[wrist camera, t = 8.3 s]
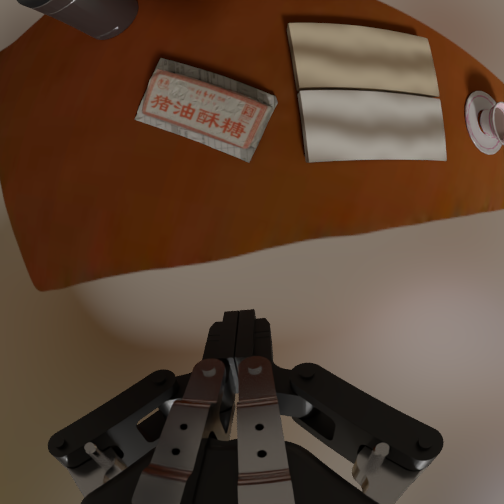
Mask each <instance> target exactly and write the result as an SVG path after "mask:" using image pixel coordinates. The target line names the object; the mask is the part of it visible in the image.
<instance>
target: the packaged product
mask: <svg viewBox="0 0 504 504" xmlns="http://www.w3.org/2000/svg"><path fill="white" fill-rule="evenodd" d="M277 103H278V102H277V99H276V96H273V95H271V94H268V93H266V92H264V91H261V90H259V89H256V88H253V87H251V86H248V85H246V84H243V83H240V82H238V81H235V80H232V79H230V78H227V77H224V76H221V75H218V74H215V73H212V72H209V71H205V70H202V69H199V68H196V67H192V66H189V65H186V64H182V63H178V62H174V61H170V60H166V59H163V58H160V60H159V62H158V64H157V66H156V69H155V71H154V73H153V75H152V77H151V78H150V80H149V84H148V88H147V90H146V92H145V94H144V97H143V99H142V101H141V104H140V106H139V109H138V111H137V115H136V118H135V120H138V121H141V122H144V123H146V124H149V125H152V126H155V127H158V128H161V129H164V130H167V131H170V132H173V133H175V134H178V135H181V136H184V137H186V138H189V139H192V140H195V141H198V142H201V143H203V144H205V145H208V146H210V147H212V148H215V149H217V150H220V151H222V152H225V153H228V154H230V155H232V156H235V157H238V158H240V159H242V160H244V161H246V162H250V160H251V158H252V156H253V153H254V151H255V149H256V147H257V145H258V143H259V141H260V139H261V137H262V135H263V132H264V130H265V128H266V126H267V123H268V121H269V119H270V117H271V115H272V113H273V111H274V109H275V107H276V105H277Z"/></svg>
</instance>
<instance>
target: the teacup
mask: <svg viewBox="0 0 504 504" xmlns="http://www.w3.org/2000/svg"><path fill="white" fill-rule="evenodd" d="M481 110H483V111H482V113H481V117H480V125H481V128H482V129H483V131H484V133H485V134H486V135H485V134H483V133H482V131H481V130H480V128H479V125H478V121H477V116H478V113H479V111H481ZM465 120H466V125H467V130H468V132H469V135H470V137H471V139H472V141H473V143H474V144H475V146H476V147H477V148H478V149H479V150H480V151H481V152H483V153H486V154H495V153H496V152H497V151H498V150H499V149H500V147H501V145H502V144H503V145H504V102H498V103H496V102H495V101H494V99H493V98H492V97H491V96H490V95H489V94H487V93H485V92H483V91H475V92H473V93H471V94H470V96H469V97H468V99H467V101H466V106H465Z"/></svg>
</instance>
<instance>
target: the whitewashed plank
mask: <svg viewBox="0 0 504 504" xmlns="http://www.w3.org/2000/svg"><path fill="white" fill-rule="evenodd" d="M298 102H299V109H300V116H301V124H302V132H303V140H304V148H305V158H306V162H323V161H342V160H377V159H408V160H441V161H447V158H446V144H445V133H444V124H443V117H442V110H441V103H440V99H435V98H428V97H422V96H415V95H407V94H398V93H387V92H375V91H355V90H306V91H300V92H299V93H298Z"/></svg>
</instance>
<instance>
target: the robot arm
mask: <svg viewBox="0 0 504 504" xmlns="http://www.w3.org/2000/svg"><path fill="white" fill-rule="evenodd" d="M17 1H18V2H19V3H20V4H22V5H24V6H26V7H29V8H32V9H34V10H37V11H39V12H41V13H44V14H46V15H49V16H51V17H53V18H55V19H57V20H60V21H62V22H64V23H66V24H68V25H70V26H72V27H74V28H76V29H78V30H80V31H82V32H84V33H86V34H88V35H90V36H92V37H94V38H96V39H99V40H105V39H109V38H112V37H114V36H116V35H118V34H120V33H121V32H123V31H124V30H125V29H126V28H127V27H128V26H129V25H130V24H131V23H132V21H133V20H134V18H135V17H136V14H137V11H138V3H137V1H136V0H17ZM235 393H239V402H238V403H237V437H238V439H234V440H230V433H231V428H232V423H233V417H234V412H235V402H234V401H235ZM157 407H158V408H159V411H157V412H155V413H154V414H153V415H151V416H150V417H148V418H147V419H146V420H144V421H143V422H141V423H140V424H138V425H137V423H138V421H139V420H140V419H142V418H143V417H145V416H146V415H147V414H149V413H150V412H152V411H153V410H154V409H156V408H157ZM280 415H286V416H292V419H293V420H294V421H295V422H296V423H298V424H299V425H300V426H301V427H303V428H304V429H305V430H307V431H308V432H309V433H311V434H312V435H313V436H315V437H316V438H317V439H319V440H320V441H322V442H323V443H324V444H326V445H327V446H328V447H330V448H331V449H333V450H334V451H336V452H337V453H339V454H340V455H341V456H343V457H344V458H346V459H347V460H349V461H351V462H352V463H353V464H354V466H353V468H352V476H353V478H354V479H355V481H357V482H358V483H359V484H360V486H361V488H362V491H363V492H362V491H360V490H359V489H357V488H356V487H354V486H353V485H352V484H350V483H349V482H347V481H346V480H345V479H343V478H342V477H341V476H340V475H338V474H337V473H335V472H334V471H333V470H331V469H330V468H329V467H328V466H327V465H325V464H324V463H323V462H322V461H320V460H319V459H318V458H317V457H315V456H314V455H313V454H312V453H310V452H309V451H308V450H306V449H305V448H303V447H301V446H299V445H297V444H294V443H291V442H287V441H284V436H283V430H282V424H281V418H280ZM442 447H443V438H442V436H441V434H440V433H439V431H437V430H436V429H434V428H432V427H430V426H428V425H426V424H424V423H422V422H420V421H418V420H416V419H414V418H412V417H410V416H408V415H406V414H404V413H402V412H400V411H398V410H396V409H394V408H393V407H391V406H389V405H387V404H385V403H383V402H381V401H380V400H378V399H376V398H374V397H372V396H371V395H369V394H367V393H365V392H363V391H361V390H360V389H358V388H356V387H355V386H353V385H351V384H349V383H347V382H346V381H344V380H342V379H341V378H339V377H337V376H336V375H334V374H332V373H331V372H329V371H327V370H325V369H324V368H322V367H321V366H319V365H317V364H313V363H302V364H299V365H297V366H295V367H294V368H293V369H292V370H288V369H283V368H280V367H278V366H277V365H275V364H274V362H273V352H272V340H271V331H270V323H269V322H268V321H267V320H266V318H260V319H256V316H255V310H254V309H251V310H240V312H239V311H228V312H224V317H223V322H215V323H214V324H213V325H212V326H211V328H210V329H209V334H208V338H207V342H206V346H205V350H204V354H203V359H202V361H200V362H199V363H197V364H196V365H195V367H194V368H193V371H192V372H191V373H189V374H185V375H181V376H177V377H175V374H174V373H173V372H171V371H169V370H158V371H155V372H153V373H151V374H150V375H148V376H147V377H145V378H144V379H142V380H141V381H139V382H138V383H136V384H135V385H133V386H131V387H130V388H129V389H127V390H125V391H124V392H122V393H121V394H119V395H117V396H116V397H114V398H113V399H111V400H110V401H108V402H106V403H105V404H103V405H102V406H100V407H98V408H97V409H95V410H94V411H92V412H90V413H89V414H87V415H86V416H84V417H82V418H80V419H79V420H77V421H76V422H74V423H72V424H70V425H69V426H67V427H65V428H64V429H62V430H60V431H59V432H57V433H55V434H54V435H53V436H52V437H51V438H50V440H49V442H48V449H49V452H50V453H51V454H52V455H53V456H54V457H55V458H56V459H57V460H58V461H59V462H61V464H62V465H63V466H64V467H65V468H67V469H68V471H69V473H70V474H71V476H72V478H73V479H74V481H75V483H76V484H77V486H78V488H79V489H80V491H81V493H82V494H83V496H84V499H83V500H82V502H81V504H395V503H396V501H397V500H398V499H399V498H400V497H401V495H402V494H403V493H404V492H405V491H406V489H407V488H408V487H409V486H410V485H411V484H412V483H413V482H414V481H415V480H416V478H418V477H419V476H420V474H421V473H422V472H423V471H424V470H425V469H426V468H427V467H428V466H429V464H431V462H432V461H433V460H434V459H435V458H436V457H437V455H438V454H439V453H440V451H441V450H442Z"/></svg>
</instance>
